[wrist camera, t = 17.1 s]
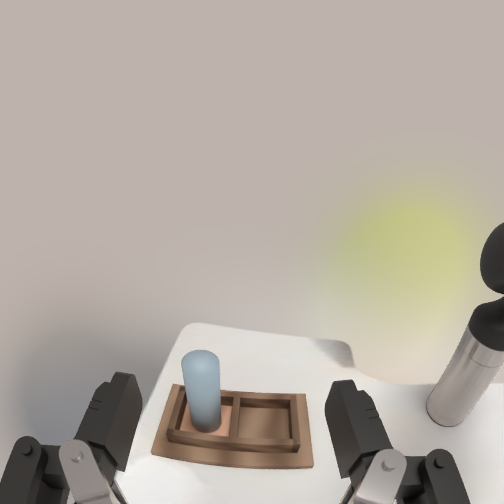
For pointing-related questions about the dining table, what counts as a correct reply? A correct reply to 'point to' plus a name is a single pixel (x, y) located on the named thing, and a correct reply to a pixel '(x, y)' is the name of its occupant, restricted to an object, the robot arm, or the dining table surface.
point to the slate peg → (203, 389)
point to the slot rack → (239, 431)
